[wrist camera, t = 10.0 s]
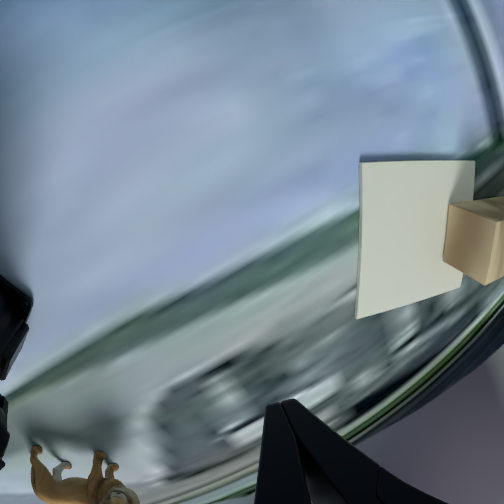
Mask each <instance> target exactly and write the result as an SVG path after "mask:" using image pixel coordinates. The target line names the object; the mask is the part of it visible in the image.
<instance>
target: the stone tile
mask: <svg viewBox="0 0 504 504" xmlns="http://www.w3.org/2000/svg"><path fill="white" fill-rule="evenodd" d="M474 178H475V161H473V160H403V161H376V162H359V182H360V219H359V255H358V276H357V292H356V305H355V318H356V319H359V318H363V317H367V316H370V315H374V314H377V313H381V312H384V311H388V310H391V309H395V308H398V307H401V306H404V305H408V304H411V303H414V302H417V301H420V300H424V299H427V298H430V297H433V296H436V295H439V294H442V293H445V292H448V291H451V290H453V289H456V288H459V287H460V285H461V280H462V275H463V273H462V272H461V271H459V270H457V269H455V268H454V267H452V266H450V265H448V264H447V263H445V262H443V256H444V249H445V241H446V233H447V223H448V213H449V204H454V203H461V202H467V201H473V194H474Z"/></svg>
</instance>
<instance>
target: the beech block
mask: <svg viewBox="0 0 504 504" xmlns="http://www.w3.org/2000/svg"><path fill="white" fill-rule="evenodd" d="M443 262H445V263H447V264H448V265H450V266H452V267H454V268H455V269H457V270H459V271H461V272H462V273H464V274H466V275H468V276H469V277H471V278H473V279H474V280H476V281H478V282H480V283H481V284H483V285H487V284H489V283H491V282H493V281H495V280H497V279H499V278H501V277H503V276H504V196H500V197H494V198H487V199H480V200H474V201H467V202H461V203H454V204H449V213H448V223H447V233H446V241H445V249H444V256H443Z"/></svg>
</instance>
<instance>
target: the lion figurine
mask: <svg viewBox="0 0 504 504" xmlns="http://www.w3.org/2000/svg"><path fill="white" fill-rule="evenodd" d="M42 451H43V450H42V449H41V448H40V447H39V446H33V447H32V450H31V457H30V462H31V464H32V468H31V483H32V487H33V490H34V492H35V494H36V495H37V496H38V497H39V498H40V499H41V500H42V501H44V502H46V503H48V504H140V502H139V499H138V497H137V495H136V493H135V492H134V491H132V490H130V489H128V488H126V487H125V486H124V485H123V483H122V482H121V481H119V480H117V479H114V475H113V472H114V471H117V470H118V469H119V466H118V465H117V464H109V465H108V466H107V469H106V470H105V478H103V475H102V468H101V466H102V462H103V460H104V459H106V454H105V453H103V452H100V451H97V452H96V453H95V454H94V458H93V467H92V470H91V473H90V475H89V476H88V479H85V478H78V477H72V478H67V479H64V480H62V478H61V472H62V471H63V470H64V469H71V468H72V466H71V464H70V463H67V462H62V463H60V464H59V465H58V466H56V467H55V468H53V475H51V473H50V472H49V471H48V469H47V468H46V467H45V466H44V465H43V464H42V463H41V462H40V461H39V460H38V458H37V455H38V454H42Z"/></svg>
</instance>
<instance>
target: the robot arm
mask: <svg viewBox="0 0 504 504" xmlns="http://www.w3.org/2000/svg"><path fill="white" fill-rule="evenodd" d="M25 302H27V303H28V305H26V303H25ZM32 307H33V301H32V299H31V298H30V297H29V296H27V295H26V294H24V293H23V292H22V291H20V290H19V289H18V288H16V287H15V286H14V285H12V284H11V283H10V282H8V281H7V280H6V279H4V278H3V277H2V276H0V380H1V381H2V380H5V379H6V377H7V375H8V373H9V371H10V369H11V367H12V365H13V363H14V361H15V360H16V358H17V356H18V354H19V352H20V351H21V349H22V346H23V344H24V341H25V338H26V336H27V333H28V331H29V326H28V324H26V322H27V319H28V317H29V314H30V312H31V309H32ZM7 413H8V401H7V400H6V399H5V397H4V396H2V395H1V394H0V470H1V469H2V468H3V467H4V466H5V462H4V461H3V460H2V457H3V456H4V453H5V450H6V448H7V446H8V442H9V438H10V434H9V432H8V431H7ZM311 502H312V503H313V504H448V503H446V502H443V501H441V500H439V499H437V498H435V497H433V496H431V495H428V494H426V493H424V492H422V491H420V490H418V489H416V488H414V487H413V486H411V485H409V484H407V483H405V482H404V481H402V480H400V479H399V478H397V477H396V476H394V475H393V474H391V473H390V472H389V471H387V470H386V469H384V468H383V467H380V465H379V464H377V463H376V462H374V461H373V460H372V459H371V458H369V457H368V456H366V455H365V454H364V453H362V452H361V451H360V450H358V449H357V448H356V447H355V446H353V445H352V444H351V443H349V442H348V441H347V440H345V439H344V438H343V437H342V436H340V435H339V434H338V433H337V432H335V431H334V430H333V429H331V428H330V427H329V426H328V425H326V424H325V423H324V422H323V421H322V420H320V419H319V418H318V417H317V416H315V415H314V414H313V413H312V412H311V411H309V410H308V409H307V408H306V407H304V406H303V405H302V404H301V403H300V402H299V401H297V400H296V399H288V400H284V401H282V402H281V403H279V402H276V403H271V404H267V405H266V407H265V416H264V425H263V434H262V443H261V451H260V460H259V468H258V476H257V484H256V492H255V500H254V504H311Z"/></svg>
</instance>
